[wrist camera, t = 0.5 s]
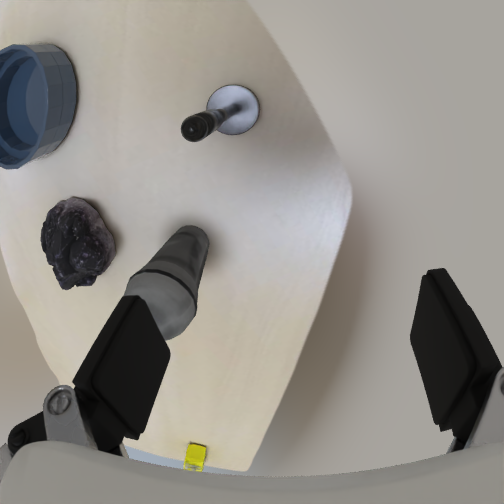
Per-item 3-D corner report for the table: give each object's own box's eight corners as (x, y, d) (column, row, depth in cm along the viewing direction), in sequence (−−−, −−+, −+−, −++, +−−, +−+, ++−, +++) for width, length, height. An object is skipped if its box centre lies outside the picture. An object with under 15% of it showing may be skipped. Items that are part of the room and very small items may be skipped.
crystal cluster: (54, 256, 43) (24, 297, 35) (45, 184, 35) (3, 222, 27) (123, 277, 44) (99, 325, 37) (124, 202, 36) (89, 248, 28)
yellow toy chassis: (187, 440, 72) (181, 465, 65) (207, 445, 72) (202, 470, 65) (188, 456, 80) (182, 478, 73) (205, 460, 80) (200, 482, 73)
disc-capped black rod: (231, 75, 27) (183, 67, 14) (270, 106, 28) (257, 124, 15) (200, 112, 29) (132, 139, 16) (238, 142, 31) (199, 192, 17)
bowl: (30, 28, 23) (0, 28, 18) (99, 74, 27) (69, 76, 22) (-7, 122, 30) (-34, 132, 25) (51, 176, 35) (24, 192, 30)
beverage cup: (209, 274, 40) (162, 405, 23) (158, 252, 39) (87, 371, 22) (228, 229, 36) (181, 364, 19) (173, 205, 35) (86, 321, 18)
